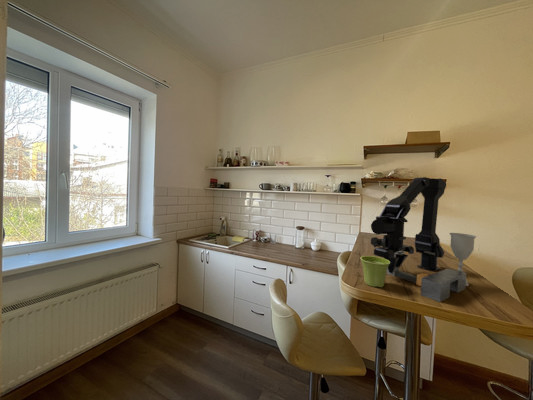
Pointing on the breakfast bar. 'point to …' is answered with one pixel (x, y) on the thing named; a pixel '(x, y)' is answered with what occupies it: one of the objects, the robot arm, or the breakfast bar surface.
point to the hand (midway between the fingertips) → (393, 271)
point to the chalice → (462, 248)
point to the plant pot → (374, 270)
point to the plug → (407, 276)
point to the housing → (442, 284)
